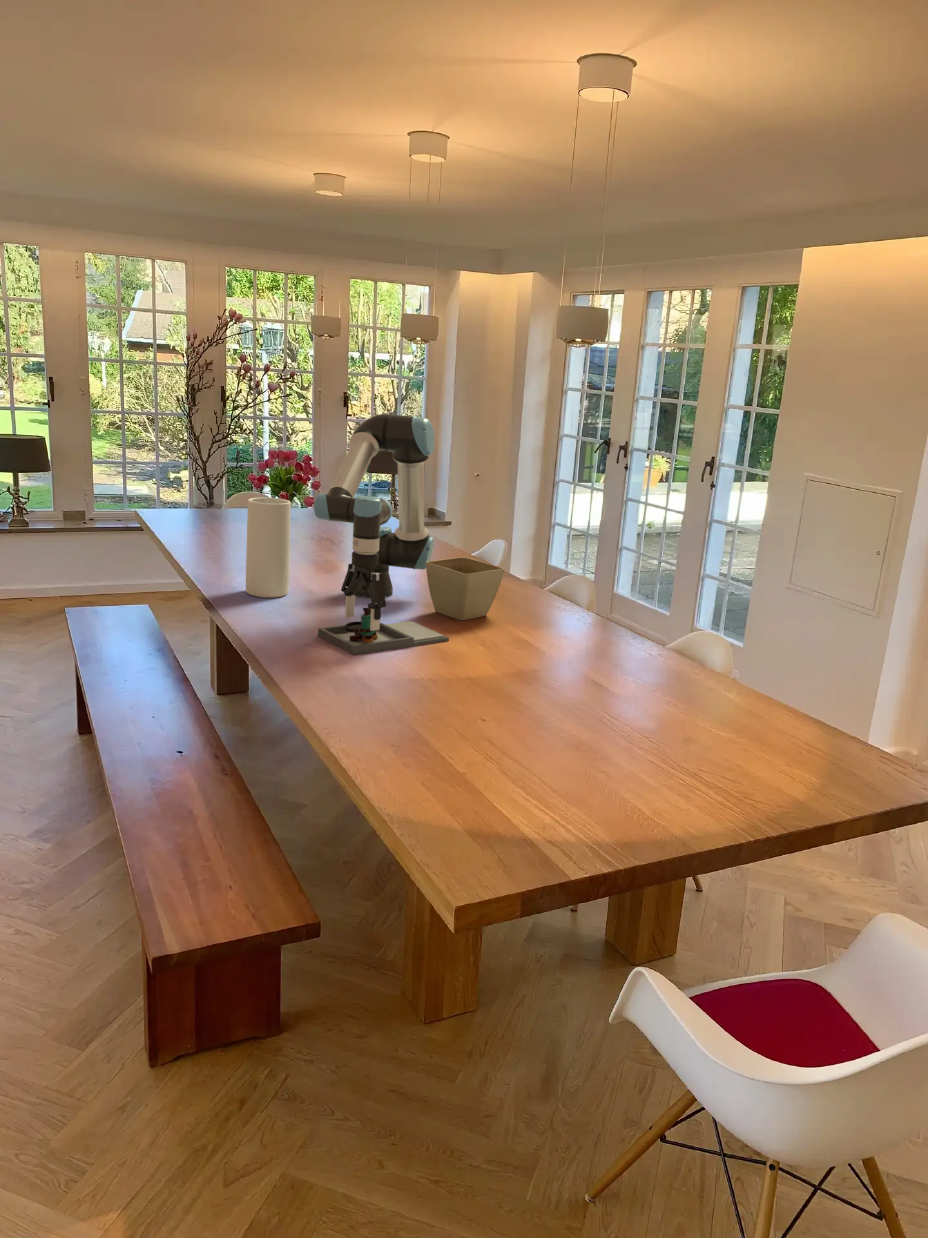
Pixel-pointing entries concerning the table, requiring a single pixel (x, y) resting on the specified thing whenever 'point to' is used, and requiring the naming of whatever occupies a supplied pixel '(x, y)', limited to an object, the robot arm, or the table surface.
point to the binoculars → (363, 627)
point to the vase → (268, 547)
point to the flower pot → (463, 586)
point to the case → (381, 637)
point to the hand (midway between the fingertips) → (361, 623)
